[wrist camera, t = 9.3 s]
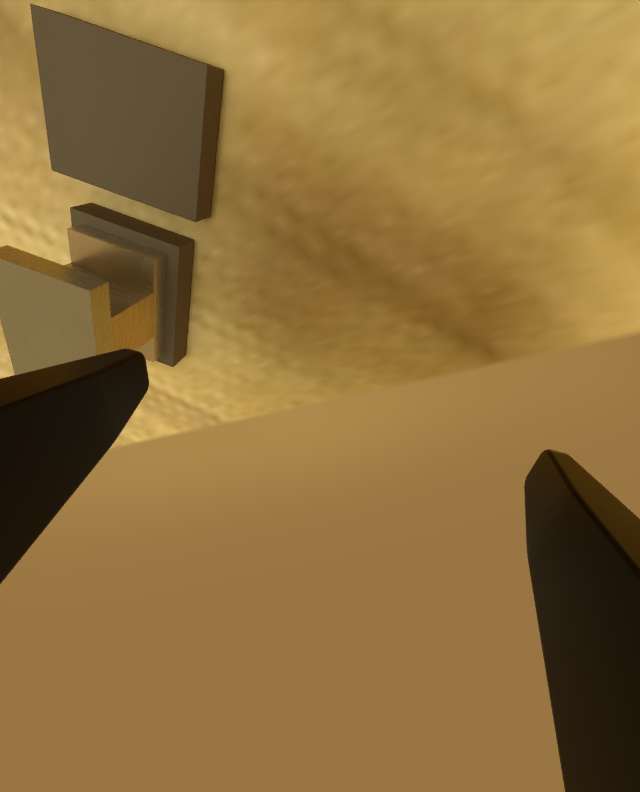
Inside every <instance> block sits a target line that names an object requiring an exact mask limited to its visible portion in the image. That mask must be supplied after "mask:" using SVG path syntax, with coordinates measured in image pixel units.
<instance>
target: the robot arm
mask: <svg viewBox="0 0 640 792" xmlns="http://www.w3.org/2000/svg"><path fill="white" fill-rule="evenodd" d="M148 386H149V379H148V373H147V366H146V360H145V356H144V355H143V353H141V352H139V351H135V350H131V349H120V350H116V351H112V352H107V353H103V354H99V355H95V356H91V357H87V358H83V359H79V360H75V361H71V362H67V363H63V364H59V365H54V366H50V367H46V368H42V369H38V370H34V371H30V372H26V373H22V374H18V375H14V376H10V377H6V378H2V379H0V584H1V582H2V581H3V580H4V579H5V578H6V576H7V575H8V574H9V573H10V572H11V570H12V569H13V568H14V567H15V565H16V564H17V563H18V561H19V560H20V559H21V557H23V555H24V554H25V553H26V552H27V550H28V549H29V548H30V547H31V545H32V544H33V543H34V542H35V540H36V539H37V538H38V536H39V535H40V534H41V533H42V532H43V530H44V529H45V528H46V527H47V525H48V524H49V523H50V521H51V520H52V519H53V518H54V517H55V515H56V514H57V513H58V512H59V510H60V509H61V508H62V507H63V506H64V504H65V503H66V502H67V500H68V499H69V498H70V497H71V495H72V494H73V493H74V492H75V491H76V489H77V488H78V487H79V485H80V484H81V483H82V482H83V481H84V479H85V478H86V477H87V476H88V474H89V473H90V472H91V470H92V469H93V468H94V467H95V466H96V464H97V463H98V462H99V460H100V459H101V458H102V457H103V455H104V454H105V453H106V452H107V451H108V449H109V448H110V447H111V446H112V444H113V443H114V442H115V440H116V439H117V437H118V436H119V434H120V433H121V431H122V430H123V428H124V427H125V425H126V423H127V422H128V420H129V419H130V417H131V416H132V414H133V412H134V411H135V409H136V408H137V406H138V405H139V403H140V401H141V400H142V398H143V397H144V395H145V394H146V392H147V390H148ZM524 488H525V517H526V542H527V554H528V562H529V568H530V575H531V582H532V588H533V594H534V600H535V607H536V612H537V619H538V625H539V632H540V637H541V644H542V650H543V657H544V662H545V669H546V675H547V681H548V687H549V694H550V700H551V706H552V713H553V719H554V725H555V731H556V738H557V744H558V750H559V756H560V763H561V769H562V774H563V781H564V788H565V792H640V519H639V518H638V517H637V516H636V515H635V514H634V513H633V512H631V511H630V510H629V509H628V508H627V507H626V506H625V505H624V504H623V503H621V502H620V501H619V500H618V499H617V498H616V497H615V496H614V495H613V494H612V493H610V492H609V491H608V490H607V489H606V488H605V487H604V486H603V485H602V484H600V483H599V482H598V481H597V480H596V479H595V478H594V477H593V476H591V475H590V474H589V473H588V472H587V471H586V470H585V469H584V468H583V467H582V466H580V465H579V464H578V463H577V462H576V461H575V460H574V459H573V458H571V456H569V455H568V454H566V453H562V452H558V451H554V450H544V451H543V452H542V453H541V454H540V456H539V458H538V459H537V461H536V463H535V464H534V466H533V467H532V469H531V470H530V472H529V474H528V475H527V477H526V480H525V487H524Z"/></svg>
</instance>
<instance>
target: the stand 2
mask: <svg viewBox="0 0 640 792" xmlns="http://www.w3.org/2000/svg"><path fill="white" fill-rule="evenodd" d="M70 212H71V221H72V227H74V226H78V225H81V224H85V225H88V226H91V227H94V228H97V229H99V230H102V231H105V232H108V233H111V234H113V235H116V236H119V237H122V238H125V239H127V240H130V241H133V242H136V243H139V244H141V245H144V246H147V247H150V248H153V249H155V250H158V251H161V252H164V253H167V268H166V309H165V349H164V354H163V355H162V356H160V357H159V358H158V359H157V360H156V361H158V362H161V363H164V364H166V365H169V366H172V367H174V366H175V365H176V364H177V363H178V362H179V361H180V360H181V359H182V358H183V357H184V356H186V344H187V331H188V317H189V303H190V289H191V276H192V262H193V248H194V240H192V239H190V238H187V237H184V236H181V235H179V234H176V233H173V232H170V231H168V230H165V229H162V228H159V227H156V226H154V225H151V224H148V223H145V222H143V221H140V220H137V219H134V218H132V217H129V216H126V215H123V214H121V213H118V212H115V211H112V210H110V209H107V208H104V207H101V206H99V205H96V204H93V203H88V204H84V205H79V206H75V207H71V208H70Z"/></svg>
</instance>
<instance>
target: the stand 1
mask: <svg viewBox="0 0 640 792" xmlns="http://www.w3.org/2000/svg"><path fill="white" fill-rule="evenodd" d="M30 7H31V14H32V22H33V30H34V37H35V45H36V53H37V60H38V68H39V76H40V83H41V91H42V99H43V106H44V114H45V122H46V129H47V137H48V145H49V152H50V160H51V168H52V170H53V171H56V172H58V173H61V174H64V175H67V176H69V177H72V178H75V179H78V180H80V181H83V182H86V183H89V184H91V185H94V186H97V187H100V188H103V189H105V190H108V191H111V192H114V193H116V194H119V195H122V196H125V197H127V198H130V199H133V200H136V201H139V202H141V203H144V204H147V205H150V206H152V207H155V208H158V209H161V210H163V211H166V212H169V213H172V214H175V215H177V216H180V217H183V218H186V219H188V220H191V221H194V222H197V221H200V220H202V219H205V218H207V217H209V216H210V213H211V202H212V192H213V181H214V171H215V160H216V149H217V139H218V128H219V117H220V107H221V96H222V85H223V75H224V70H223V69H220V68H217V67H214V66H211V65H209V64H206V63H203V62H200V61H197V60H194V59H191V58H189V57H186V56H183V55H180V54H177V53H174V52H171V51H168V50H166V49H163V48H160V47H157V46H154V45H151V44H148V43H146V42H143V41H140V40H137V39H134V38H131V37H128V36H125V35H123V34H120V33H117V32H114V31H111V30H108V29H105V28H103V27H100V26H97V25H94V24H91V23H88V22H85V21H83V20H80V19H77V18H74V17H71V16H68V15H65V14H62V13H60V12H56V11H53V10H50V9H46V8H43V7H40V6H37V5H33V4H30Z"/></svg>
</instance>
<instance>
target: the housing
mask: <svg viewBox="0 0 640 792" xmlns="http://www.w3.org/2000/svg"><path fill="white" fill-rule="evenodd" d="M67 230H68V238H69V246H70V254H71V262H72V263H69V264H67V265H64V266H63V265H61V264H58V263H55V262H52V261H49V260H47V259H44V258H41V257H38V256H36V255H33V254H30V253H27V252H25V251H22V250H19V249H16V248H13V247H11V246H8V245H7V246H3V247H0V319H1V323H2V327H3V331H4V335H5V339H6V342H7V346H8V350H9V354H10V358H11V362H12V365H13V369H14V373H15V375H18V374H22V373H26V372H30V371H34V370H38V369H42V368H46V367H50V366H54V365H59V364H63V363H67V362H71V361H75V360H79V359H83V358H87V357H91V356H95V355H99V354H103V353H107V352H112V351H116V350H120V349H131V350H135V351H139V352H141V353H143V355H144V356H145V359H146V360H149V361H152V362H155V361H156V360H157V359H158V358H159V357H160V356H162V355H163V354H164V349H165V309H166V268H167V253H164V252H161V251H158V250H155V249H153V248H150V247H147V246H144V245H141V244H139V243H136V242H133V241H130V240H127V239H125V238H122V237H119V236H116V235H113V234H111V233H108V232H105V231H102V230H99V229H97V228H94V227H91V226H88V225H85V224H81V225H78V226H74V227H71V228H67Z"/></svg>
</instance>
